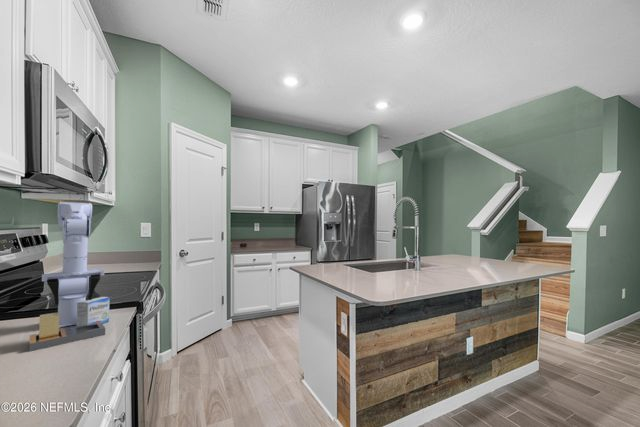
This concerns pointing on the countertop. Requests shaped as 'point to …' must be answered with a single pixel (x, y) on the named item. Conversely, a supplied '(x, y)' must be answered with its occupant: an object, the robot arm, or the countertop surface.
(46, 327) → the peg
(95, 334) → the rail
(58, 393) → the countertop surface
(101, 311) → the medicine box
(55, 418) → the countertop surface
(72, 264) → the robot arm
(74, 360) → the countertop surface
